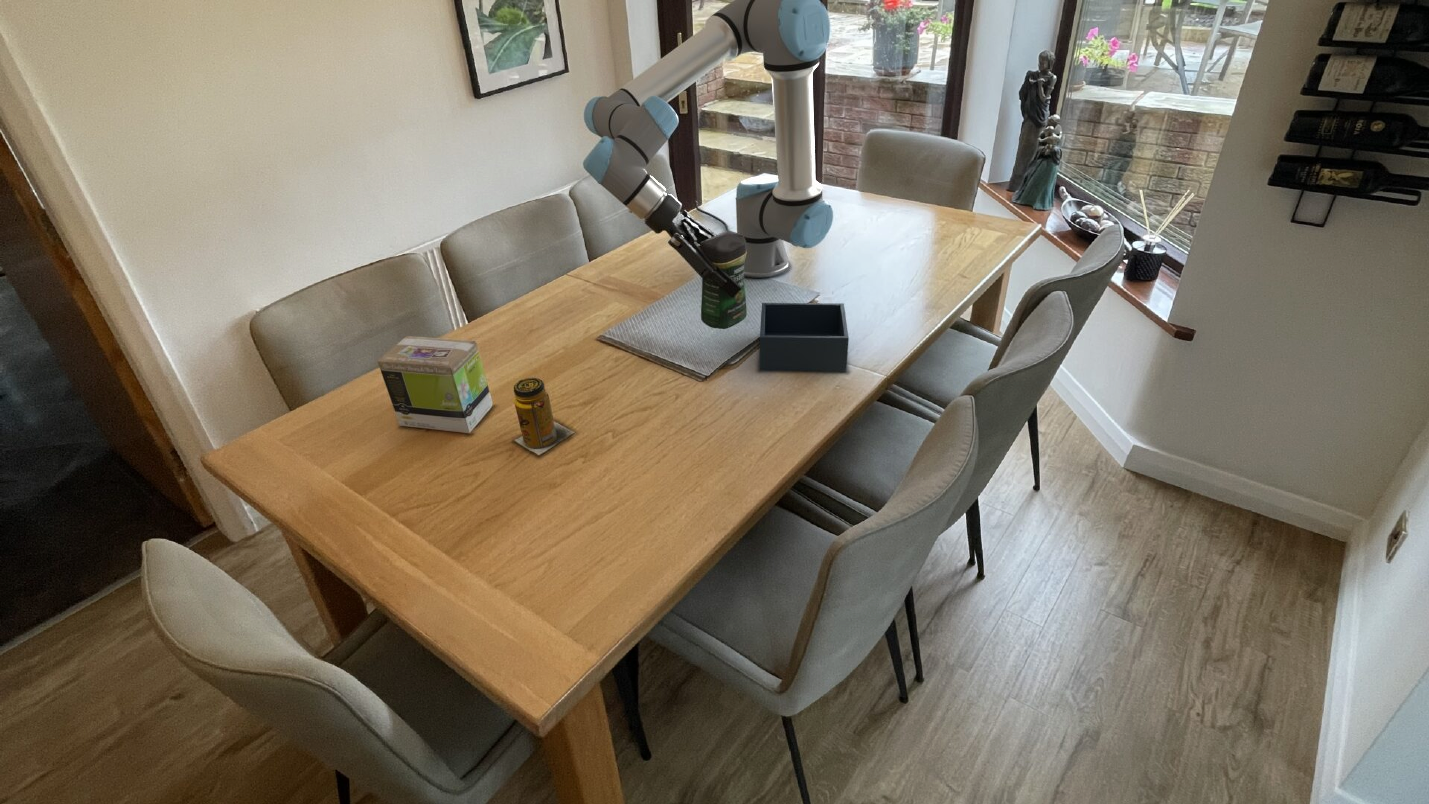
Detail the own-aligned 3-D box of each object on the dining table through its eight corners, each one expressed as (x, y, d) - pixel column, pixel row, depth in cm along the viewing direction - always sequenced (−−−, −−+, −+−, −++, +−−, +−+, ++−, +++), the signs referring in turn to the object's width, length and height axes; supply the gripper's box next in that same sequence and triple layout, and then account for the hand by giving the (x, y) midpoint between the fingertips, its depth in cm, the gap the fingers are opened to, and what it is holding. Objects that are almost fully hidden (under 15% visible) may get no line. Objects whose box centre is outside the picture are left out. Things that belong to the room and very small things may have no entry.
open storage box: (761, 335, 162) (761, 302, 158) (841, 335, 161) (843, 303, 156) (759, 371, 150) (759, 337, 146) (846, 372, 149) (848, 338, 144)
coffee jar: (723, 334, 148) (720, 249, 138) (695, 323, 153) (690, 239, 142) (754, 316, 154) (753, 233, 143) (725, 306, 158) (723, 224, 148)
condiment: (513, 441, 133) (500, 386, 126) (550, 419, 138) (539, 365, 132) (539, 456, 129) (526, 400, 122) (575, 433, 134) (565, 378, 128)
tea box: (494, 405, 143) (478, 339, 135) (469, 435, 135) (450, 367, 127) (426, 397, 146) (406, 333, 138) (397, 427, 138) (374, 360, 130)
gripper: (651, 199, 151) (729, 270, 159) (632, 242, 133) (721, 319, 141) (675, 174, 148) (753, 247, 155) (659, 213, 129) (749, 294, 137)
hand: (738, 281), depth 148 cm, fingers closed on coffee jar, 10 cm apart
